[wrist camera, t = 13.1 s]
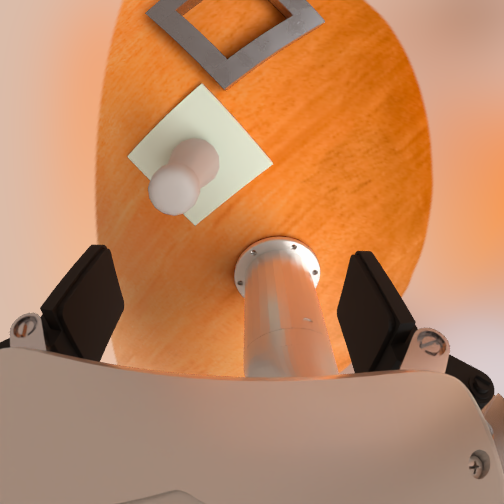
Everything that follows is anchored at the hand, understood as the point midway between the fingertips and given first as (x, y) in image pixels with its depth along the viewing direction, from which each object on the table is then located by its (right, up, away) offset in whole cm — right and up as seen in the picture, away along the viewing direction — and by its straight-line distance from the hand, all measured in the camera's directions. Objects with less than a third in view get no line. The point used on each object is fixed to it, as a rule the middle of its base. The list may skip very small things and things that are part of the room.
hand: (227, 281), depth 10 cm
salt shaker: (-6, +12, +22) cm, 26 cm away
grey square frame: (-1, +28, +13) cm, 31 cm away
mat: (-6, +13, +22) cm, 26 cm away
